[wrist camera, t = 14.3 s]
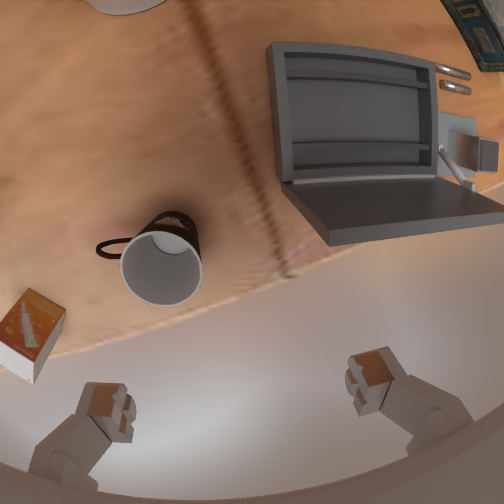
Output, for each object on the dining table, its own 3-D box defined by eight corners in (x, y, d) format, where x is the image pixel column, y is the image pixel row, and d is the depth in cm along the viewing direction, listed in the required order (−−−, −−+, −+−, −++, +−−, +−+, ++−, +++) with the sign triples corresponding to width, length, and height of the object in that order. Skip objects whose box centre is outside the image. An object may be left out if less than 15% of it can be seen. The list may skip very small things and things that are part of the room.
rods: (431, 62, 30) (437, 61, 29) (465, 72, 30) (471, 72, 29) (433, 87, 32) (439, 87, 30) (467, 95, 32) (472, 95, 31)
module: (447, 130, 34) (481, 137, 28) (467, 133, 35) (499, 140, 28) (447, 162, 37) (479, 173, 30) (466, 163, 37) (498, 173, 30)
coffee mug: (219, 226, 38) (220, 262, 29) (182, 275, 40) (175, 319, 31) (143, 176, 34) (118, 196, 25) (111, 230, 36) (83, 264, 27)
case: (265, 50, 29) (312, -10, 12) (424, 66, 30) (522, 61, 14) (277, 186, 36) (329, 246, 20) (426, 178, 38) (518, 220, 21)
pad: (435, 111, 33) (436, 111, 33) (475, 119, 34) (476, 119, 34) (434, 175, 38) (435, 176, 37) (473, 176, 38) (474, 176, 38)
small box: (66, 308, 40) (34, 363, 29) (61, 333, 42) (34, 386, 31) (28, 286, 38) (-11, 334, 26) (25, 312, 40) (-8, 360, 28)
